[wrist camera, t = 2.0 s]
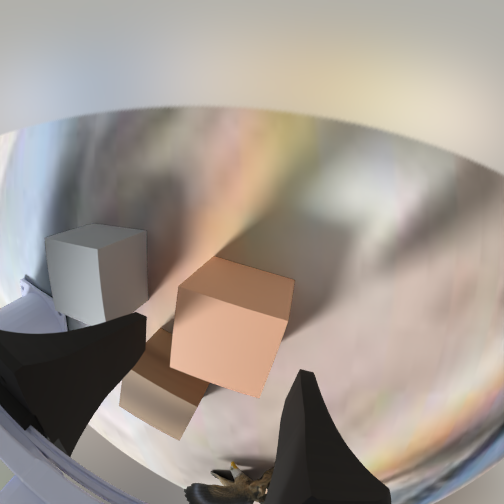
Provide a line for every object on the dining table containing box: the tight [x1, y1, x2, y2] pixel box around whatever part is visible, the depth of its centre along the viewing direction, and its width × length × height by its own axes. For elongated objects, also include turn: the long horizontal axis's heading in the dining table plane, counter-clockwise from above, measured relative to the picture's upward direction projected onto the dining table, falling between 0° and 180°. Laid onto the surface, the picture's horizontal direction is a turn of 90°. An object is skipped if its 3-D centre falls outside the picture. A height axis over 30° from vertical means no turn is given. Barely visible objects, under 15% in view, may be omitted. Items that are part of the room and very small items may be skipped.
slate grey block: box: [45, 223, 149, 326], centre depth 16 cm, size 5×5×5 cm
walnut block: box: [119, 328, 210, 440], centre depth 17 cm, size 5×5×5 cm
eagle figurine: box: [184, 461, 274, 504], centre depth 20 cm, size 8×7×9 cm
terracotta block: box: [170, 256, 295, 398], centre depth 15 cm, size 5×5×5 cm
